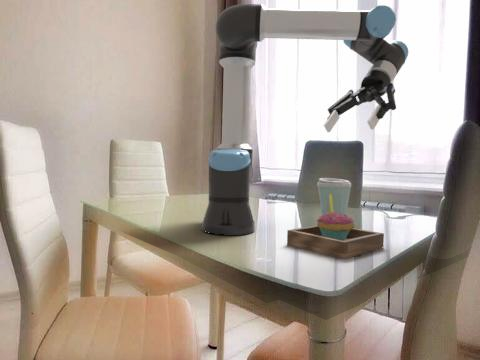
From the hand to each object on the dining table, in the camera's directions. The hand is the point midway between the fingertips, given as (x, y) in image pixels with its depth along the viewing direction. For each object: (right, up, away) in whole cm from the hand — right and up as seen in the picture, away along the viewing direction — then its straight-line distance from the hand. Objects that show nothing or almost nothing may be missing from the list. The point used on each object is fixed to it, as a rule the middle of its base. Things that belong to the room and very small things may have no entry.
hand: (347, 127), depth 96 cm
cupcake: (-6, -29, -11) cm, 32 cm away
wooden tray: (-6, -30, -11) cm, 33 cm away
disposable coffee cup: (+1, -29, +17) cm, 33 cm away
